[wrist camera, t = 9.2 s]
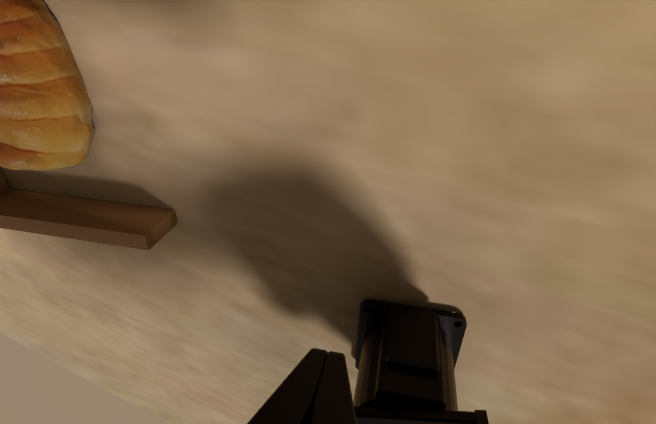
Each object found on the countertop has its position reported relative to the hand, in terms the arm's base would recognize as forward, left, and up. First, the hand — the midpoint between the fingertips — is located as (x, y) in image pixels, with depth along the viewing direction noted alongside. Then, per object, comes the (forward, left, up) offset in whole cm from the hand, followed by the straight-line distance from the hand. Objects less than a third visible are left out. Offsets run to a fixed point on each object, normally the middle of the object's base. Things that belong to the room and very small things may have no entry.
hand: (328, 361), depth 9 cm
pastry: (+3, +20, -12) cm, 23 cm away
